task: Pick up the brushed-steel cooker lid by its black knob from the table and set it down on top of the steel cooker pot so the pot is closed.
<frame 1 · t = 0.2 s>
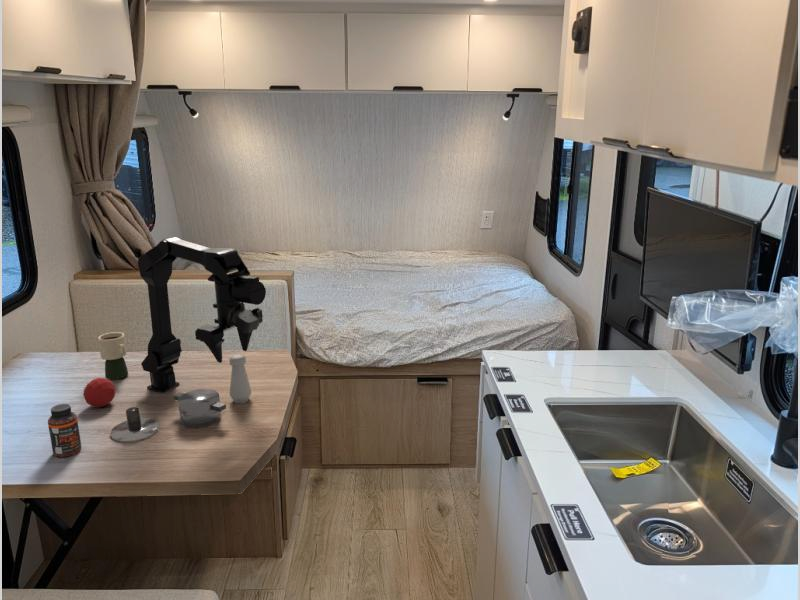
hand: (232, 356, 161), 14 cm above the table, tool pointing down, fingers open, 9 cm apart
tomato: (101, 405, 167), on the table
salt shaker: (241, 400, 170), on the table
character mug: (117, 377, 185), on the table
cooker lid: (135, 432, 153), on the table
cooker pot: (201, 418, 159), on the table
supplement bottle: (68, 452, 144), on the table
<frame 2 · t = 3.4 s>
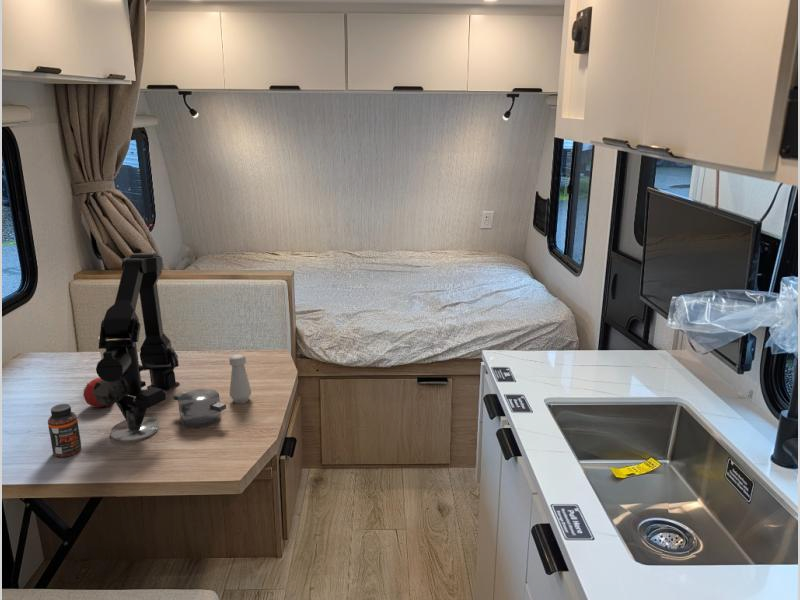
hand: (134, 423, 153), 2 cm above the table, tool pointing down, fingers closed on cooker lid, 3 cm apart
cooker lid: (135, 431, 153), on the table, touching gripper
everything else where it was.
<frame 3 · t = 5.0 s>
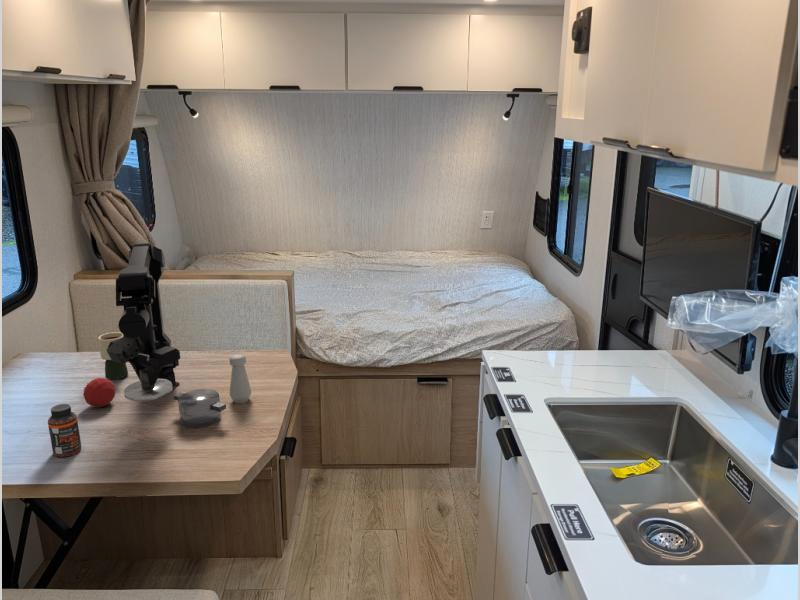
hand: (148, 383, 152), 12 cm above the table, tool pointing down, fingers closed on cooker lid, 3 cm apart
cooker lid: (148, 391, 152), point 10 cm above the table, touching gripper
everything else where it was.
when the fingers open (9 cm above the table, at t = 6.7 s): cooker lid drops 1 cm, resting on cooker pot.
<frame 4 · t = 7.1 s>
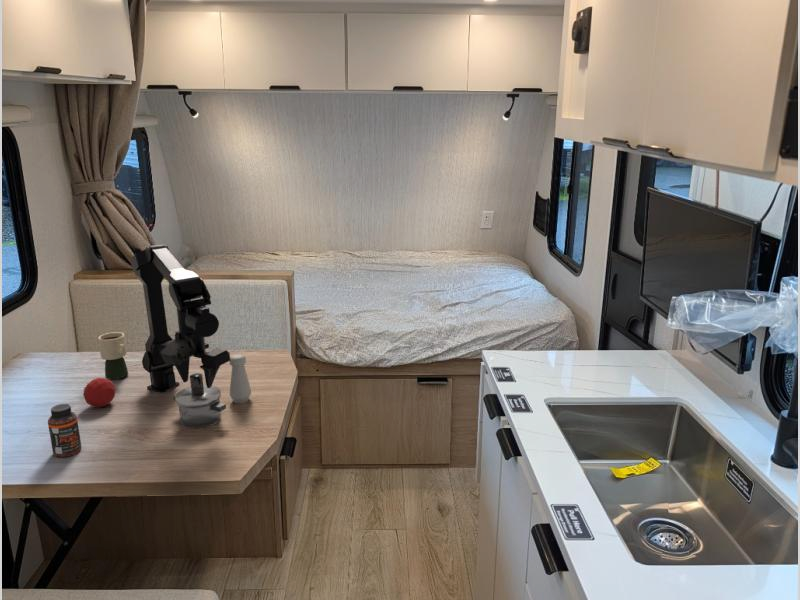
hand: (197, 384, 157), 9 cm above the table, tool pointing down, fingers open, 8 cm apart
cooker lid: (198, 397, 158), point 6 cm above the table, touching cooker pot
everything else where it was.
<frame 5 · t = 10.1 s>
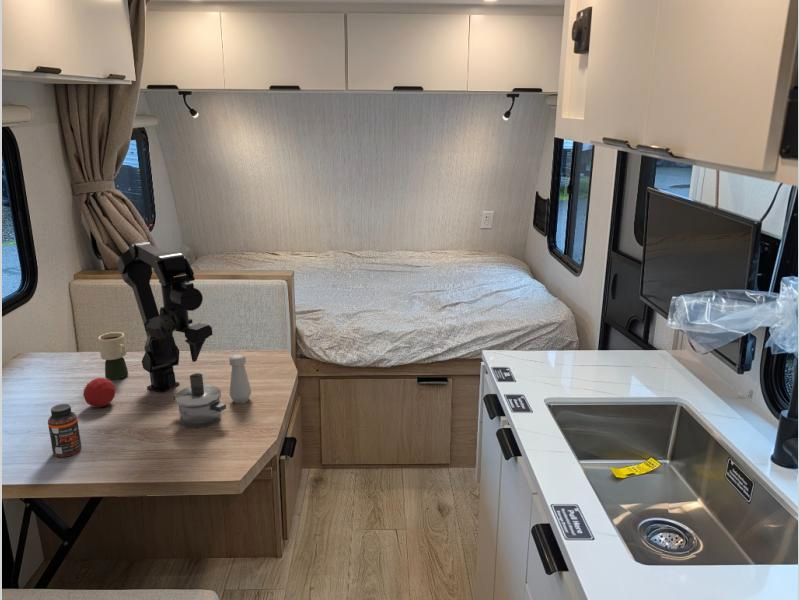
hand: (181, 358, 164), 13 cm above the table, tool pointing down, fingers open, 9 cm apart
nothing on the table moved.
at the end: cooker lid 0.1 cm off-centre on the cooker pot, point 6.0 cm above the cooker pot's base; cooker lid tilted 0°; the gripper is holding nothing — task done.
